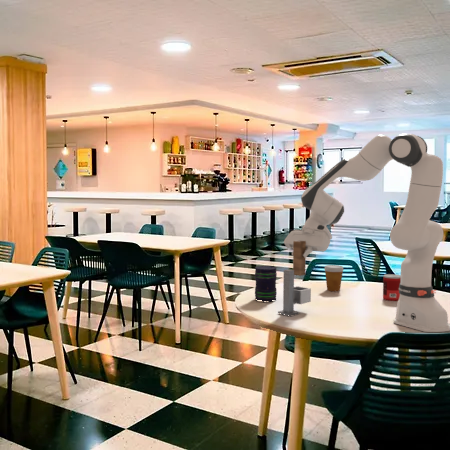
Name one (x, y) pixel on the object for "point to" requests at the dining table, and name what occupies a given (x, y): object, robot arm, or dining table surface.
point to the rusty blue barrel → (265, 283)
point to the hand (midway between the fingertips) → (298, 256)
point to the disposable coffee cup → (333, 277)
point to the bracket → (293, 294)
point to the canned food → (391, 287)
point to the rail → (299, 257)
